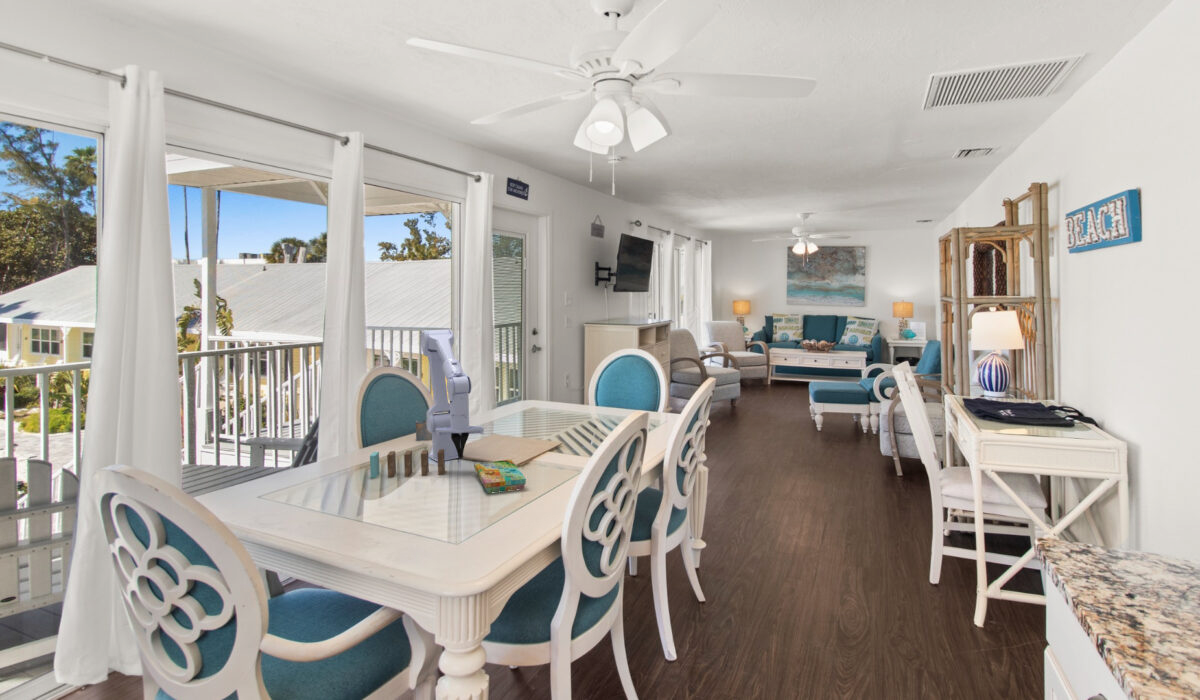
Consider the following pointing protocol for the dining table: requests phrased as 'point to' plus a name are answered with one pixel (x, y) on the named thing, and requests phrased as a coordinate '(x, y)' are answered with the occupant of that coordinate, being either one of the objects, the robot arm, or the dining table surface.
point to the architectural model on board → (422, 432)
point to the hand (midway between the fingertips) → (460, 456)
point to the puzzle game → (500, 475)
